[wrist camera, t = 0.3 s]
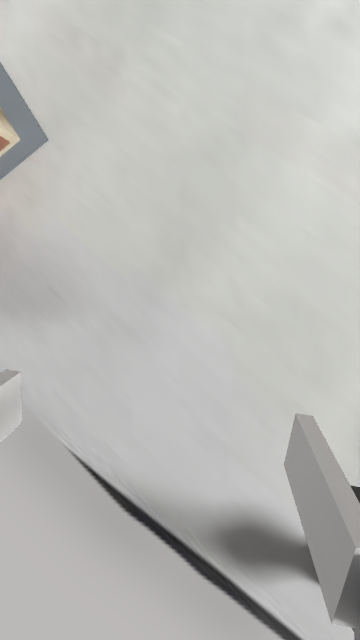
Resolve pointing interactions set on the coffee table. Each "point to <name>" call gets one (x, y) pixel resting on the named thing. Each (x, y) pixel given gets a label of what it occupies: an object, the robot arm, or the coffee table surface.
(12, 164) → the slate mat
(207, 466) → the coffee table surface
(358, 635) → the lava lamp
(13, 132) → the birch slab
